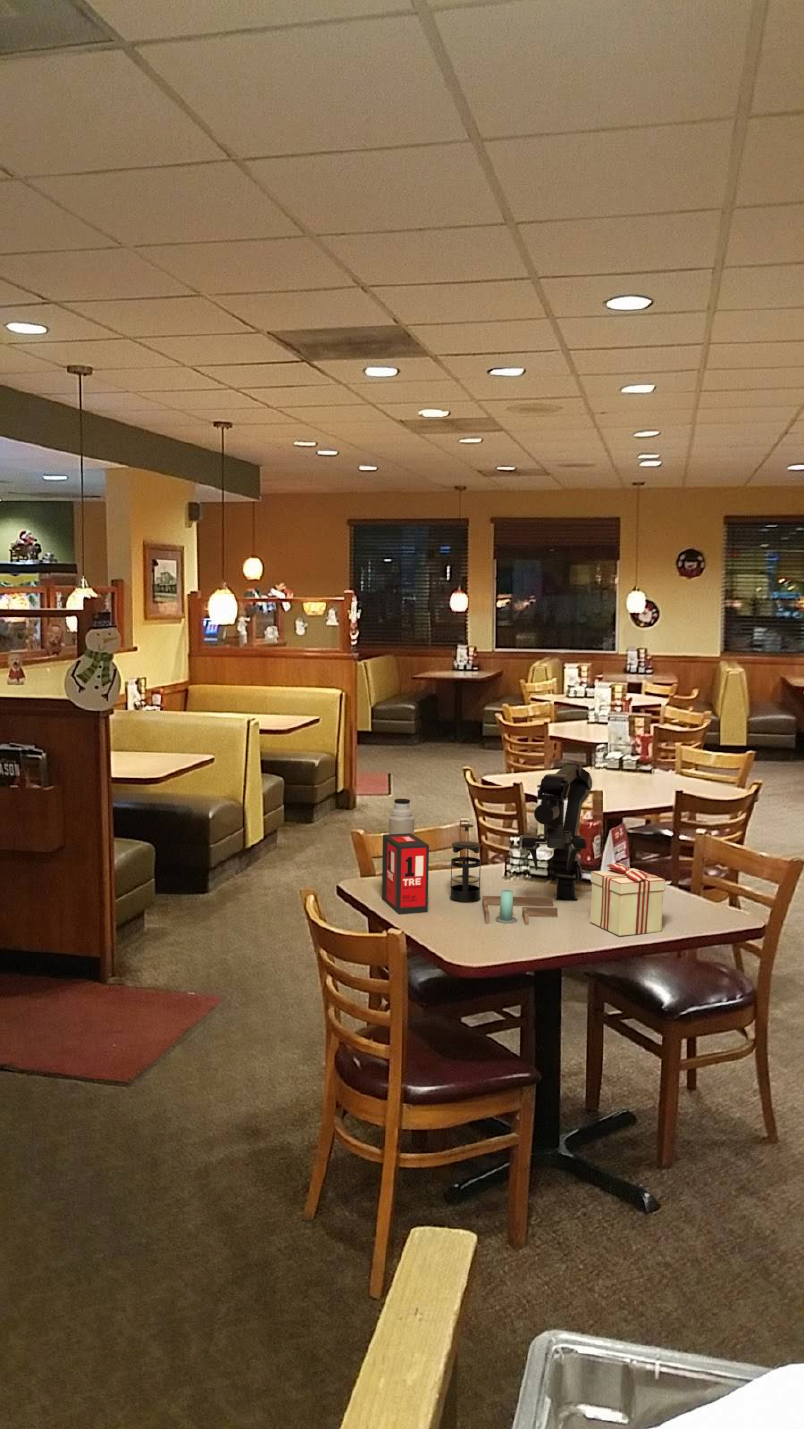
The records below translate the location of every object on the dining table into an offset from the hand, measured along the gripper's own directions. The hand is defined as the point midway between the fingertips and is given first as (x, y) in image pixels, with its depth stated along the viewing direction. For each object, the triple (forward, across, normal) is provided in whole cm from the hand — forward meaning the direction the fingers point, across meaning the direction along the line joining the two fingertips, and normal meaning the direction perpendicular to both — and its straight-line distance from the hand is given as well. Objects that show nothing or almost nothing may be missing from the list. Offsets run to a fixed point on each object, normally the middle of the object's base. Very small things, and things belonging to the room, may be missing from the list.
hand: (552, 870), depth 323 cm
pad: (+12, -14, -11) cm, 21 cm away
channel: (+12, -10, -5) cm, 16 cm away
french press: (+12, -25, +11) cm, 30 cm away
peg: (+12, -14, -11) cm, 21 cm away
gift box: (+12, +20, -14) cm, 27 cm away
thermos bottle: (+12, -45, +23) cm, 52 cm away
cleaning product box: (+12, -43, +2) cm, 45 cm away
